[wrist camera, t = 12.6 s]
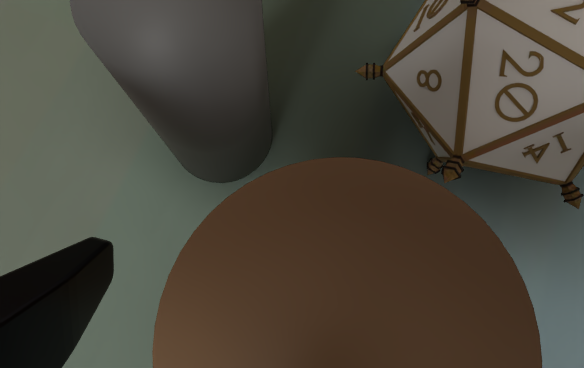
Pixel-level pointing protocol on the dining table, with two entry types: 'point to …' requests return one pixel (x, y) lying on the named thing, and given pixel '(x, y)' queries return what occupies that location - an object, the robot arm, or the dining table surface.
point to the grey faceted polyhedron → (495, 87)
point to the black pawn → (190, 75)
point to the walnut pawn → (345, 278)
